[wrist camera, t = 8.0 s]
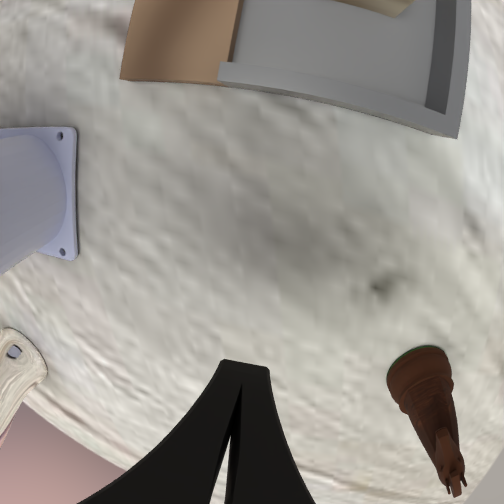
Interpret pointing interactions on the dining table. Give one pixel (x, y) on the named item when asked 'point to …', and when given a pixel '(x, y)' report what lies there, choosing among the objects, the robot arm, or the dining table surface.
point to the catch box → (358, 58)
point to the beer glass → (17, 374)
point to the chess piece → (430, 409)
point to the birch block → (381, 5)
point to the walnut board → (180, 40)
